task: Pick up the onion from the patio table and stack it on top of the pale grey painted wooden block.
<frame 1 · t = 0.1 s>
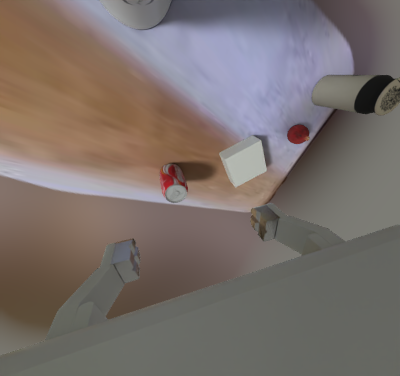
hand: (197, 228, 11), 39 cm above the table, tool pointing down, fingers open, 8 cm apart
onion: (289, 131, 55), on the table
soda can: (170, 171, 52), on the table
grey block: (240, 159, 56), on the table
travel mug: (322, 90, 50), on the table
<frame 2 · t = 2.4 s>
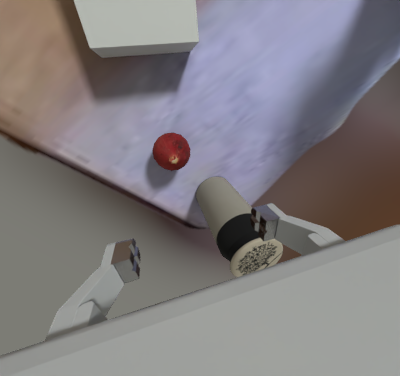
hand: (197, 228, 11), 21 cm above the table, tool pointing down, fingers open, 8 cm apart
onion: (169, 145, 29), on the table
travel mug: (213, 191, 37), on the table
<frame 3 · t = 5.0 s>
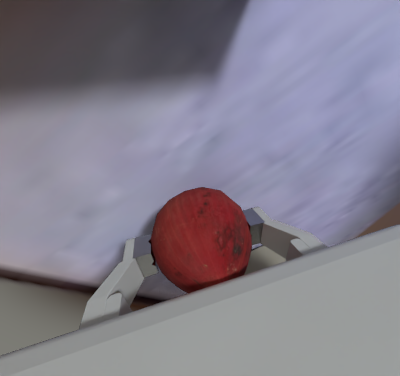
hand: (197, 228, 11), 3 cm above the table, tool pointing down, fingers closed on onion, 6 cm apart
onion: (188, 201, 13), on the table, touching gripper
travel mug: (258, 263, 21), on the table
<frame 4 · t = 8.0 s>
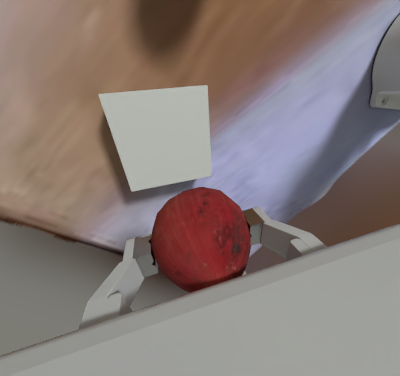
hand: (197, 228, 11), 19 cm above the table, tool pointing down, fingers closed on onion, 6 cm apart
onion: (188, 201, 13), point 16 cm above the table, touching gripper
grey block: (163, 135, 25), on the table
when the fingers open (9 cm above the table, at t = 11.1 s): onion stays where it is, resting on grey block.
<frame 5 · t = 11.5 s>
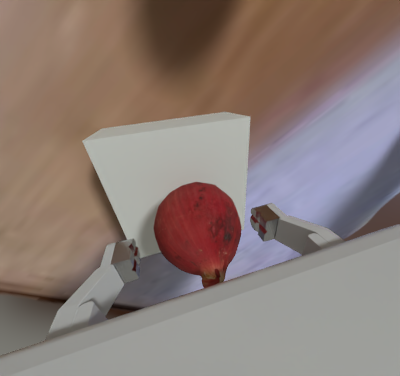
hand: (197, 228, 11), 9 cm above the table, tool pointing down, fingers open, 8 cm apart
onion: (186, 193, 15), point 5 cm above the table, touching grey block
grey block: (177, 175, 19), on the table
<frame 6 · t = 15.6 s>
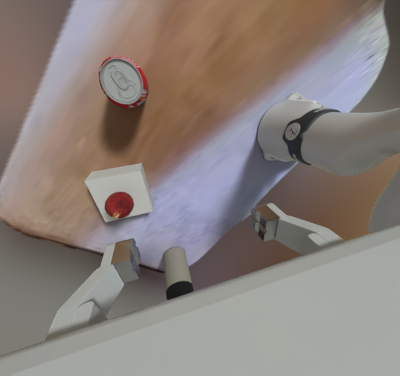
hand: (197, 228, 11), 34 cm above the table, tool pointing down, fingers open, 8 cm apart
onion: (122, 195, 40), point 5 cm above the table, touching grey block
soda can: (130, 87, 34), on the table
grey block: (125, 188, 44), on the table
travel mug: (174, 253, 61), on the table
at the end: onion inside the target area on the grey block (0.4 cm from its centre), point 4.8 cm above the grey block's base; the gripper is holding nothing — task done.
